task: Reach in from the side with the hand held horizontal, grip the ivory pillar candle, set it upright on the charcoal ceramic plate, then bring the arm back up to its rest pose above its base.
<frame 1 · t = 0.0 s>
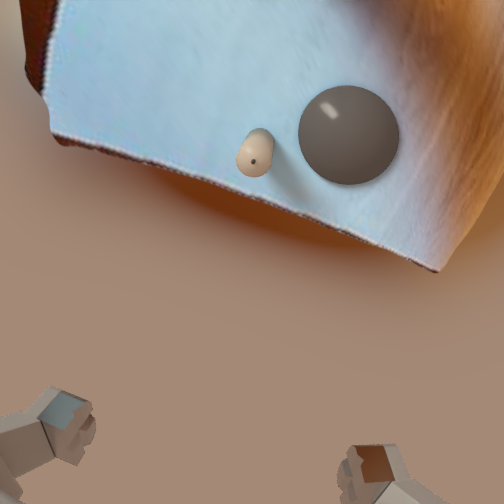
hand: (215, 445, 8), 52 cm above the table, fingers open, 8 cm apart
candle: (259, 141, 54), on the table
plate: (349, 135, 51), on the table
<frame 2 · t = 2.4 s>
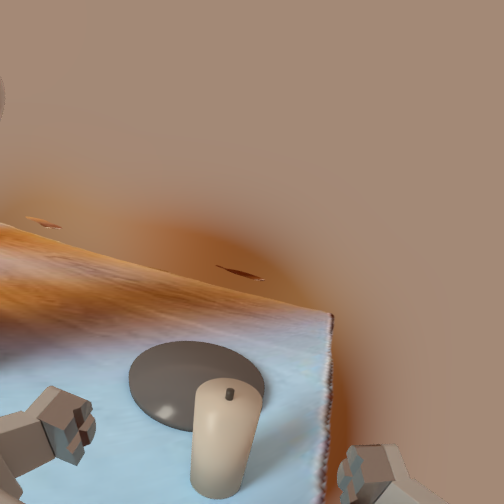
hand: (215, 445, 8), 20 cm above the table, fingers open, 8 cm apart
candle: (215, 479, 25), on the table
plate: (196, 383, 40), on the table
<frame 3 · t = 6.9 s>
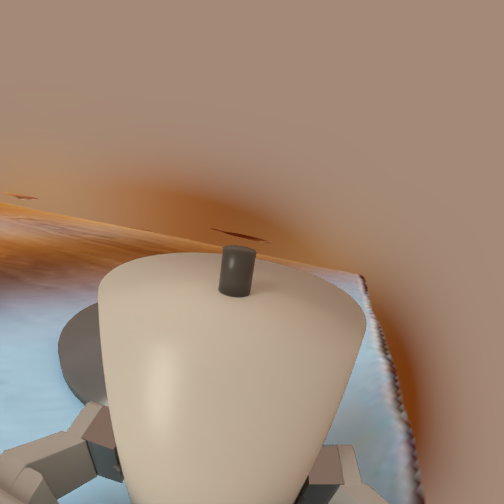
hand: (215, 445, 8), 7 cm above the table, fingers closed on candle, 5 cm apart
plate: (173, 352, 24), on the table
when the fingers open (9 cm above the table, at t = 11.8 s): candle drops 1 cm, resting on plate.
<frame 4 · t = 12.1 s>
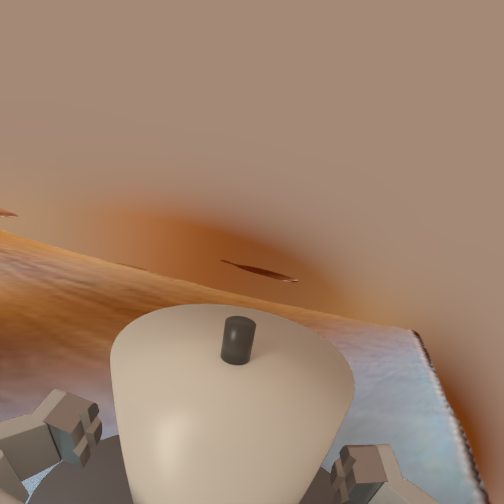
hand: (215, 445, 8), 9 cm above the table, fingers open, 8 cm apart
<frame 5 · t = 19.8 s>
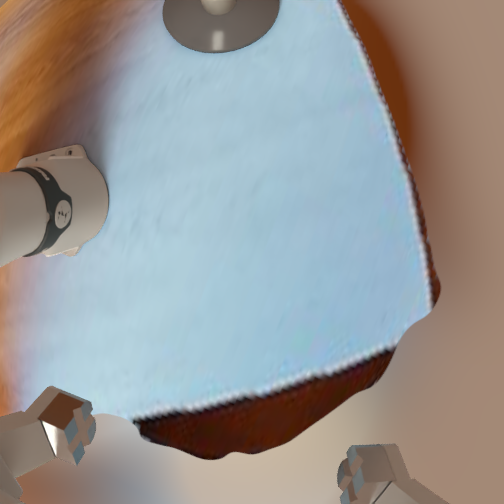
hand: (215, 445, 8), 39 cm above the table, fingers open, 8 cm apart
candle: (219, 2, 37), point 1 cm above the table, touching plate
plate: (220, 5, 38), on the table
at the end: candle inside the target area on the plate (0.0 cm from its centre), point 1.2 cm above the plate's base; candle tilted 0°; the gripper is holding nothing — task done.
